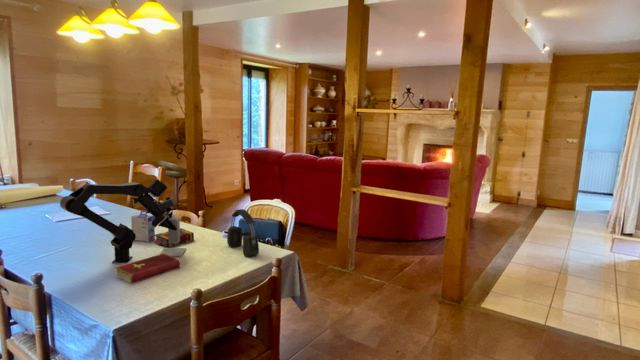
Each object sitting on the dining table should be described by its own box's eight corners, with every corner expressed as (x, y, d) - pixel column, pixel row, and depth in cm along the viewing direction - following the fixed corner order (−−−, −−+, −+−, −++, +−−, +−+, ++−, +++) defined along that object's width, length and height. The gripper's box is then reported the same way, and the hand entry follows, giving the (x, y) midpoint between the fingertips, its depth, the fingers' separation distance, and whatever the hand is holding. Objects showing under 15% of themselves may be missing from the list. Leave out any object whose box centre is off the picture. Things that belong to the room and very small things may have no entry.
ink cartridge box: (155, 238, 198) (154, 211, 196) (149, 241, 193) (147, 213, 191) (138, 236, 200) (137, 209, 198) (131, 240, 195) (129, 212, 193)
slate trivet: (181, 257, 174) (181, 255, 174) (158, 257, 173) (158, 255, 173) (186, 249, 184) (186, 247, 184) (164, 249, 183) (164, 248, 183)
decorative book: (194, 241, 198) (194, 231, 197) (165, 249, 185) (165, 239, 184) (181, 236, 204) (180, 227, 203) (152, 243, 191) (152, 234, 191)
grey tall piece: (177, 243, 176) (177, 215, 174) (168, 243, 175) (167, 215, 173) (180, 240, 180) (179, 213, 178) (171, 240, 180) (170, 213, 178)
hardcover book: (180, 269, 163) (180, 259, 162) (131, 285, 146) (130, 274, 146) (164, 261, 170) (164, 252, 169) (115, 276, 153) (114, 266, 153)
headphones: (260, 256, 179) (260, 214, 176) (248, 259, 175) (248, 216, 172) (237, 243, 196) (237, 204, 193) (225, 245, 192) (225, 206, 189)
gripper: (158, 196, 164) (186, 221, 168) (168, 188, 182) (193, 211, 186) (139, 214, 164) (167, 239, 168) (151, 204, 182) (176, 227, 186)
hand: (177, 228), depth 177 cm, fingers closed on grey tall piece, 4 cm apart
